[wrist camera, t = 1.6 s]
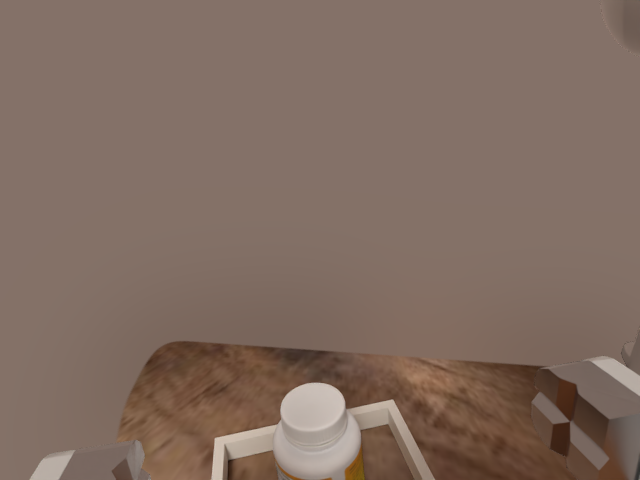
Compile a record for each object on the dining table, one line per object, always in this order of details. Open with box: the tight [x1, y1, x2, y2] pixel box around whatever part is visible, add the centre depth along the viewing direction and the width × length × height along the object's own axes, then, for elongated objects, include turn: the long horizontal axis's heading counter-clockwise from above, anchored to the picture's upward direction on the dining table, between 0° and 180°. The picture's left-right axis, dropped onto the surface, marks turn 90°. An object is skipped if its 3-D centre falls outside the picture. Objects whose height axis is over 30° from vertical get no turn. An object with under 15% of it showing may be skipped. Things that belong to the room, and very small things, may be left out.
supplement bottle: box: [273, 383, 365, 480], centre depth 25 cm, size 6×6×10 cm
